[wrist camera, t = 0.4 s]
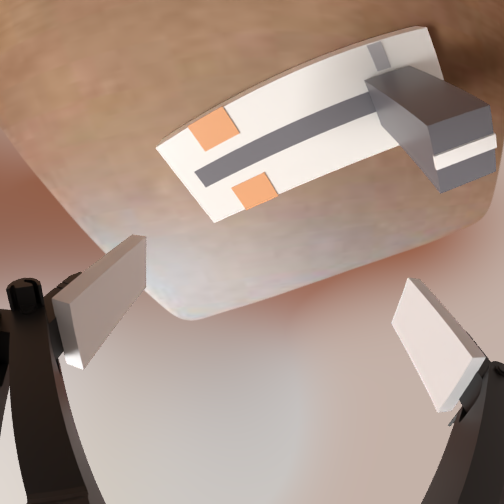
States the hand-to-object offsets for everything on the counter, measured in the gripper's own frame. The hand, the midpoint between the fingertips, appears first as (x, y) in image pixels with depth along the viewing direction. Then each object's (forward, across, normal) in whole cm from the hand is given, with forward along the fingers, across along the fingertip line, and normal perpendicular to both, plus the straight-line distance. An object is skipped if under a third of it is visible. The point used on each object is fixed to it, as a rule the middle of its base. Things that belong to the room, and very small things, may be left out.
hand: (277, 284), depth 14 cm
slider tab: (+10, +7, +12) cm, 17 cm away
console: (+13, +2, +9) cm, 16 cm away
